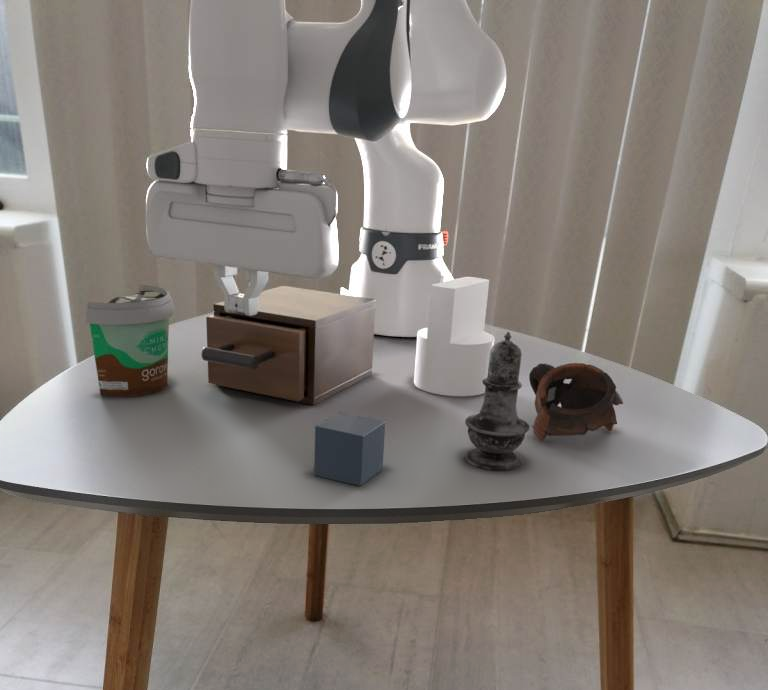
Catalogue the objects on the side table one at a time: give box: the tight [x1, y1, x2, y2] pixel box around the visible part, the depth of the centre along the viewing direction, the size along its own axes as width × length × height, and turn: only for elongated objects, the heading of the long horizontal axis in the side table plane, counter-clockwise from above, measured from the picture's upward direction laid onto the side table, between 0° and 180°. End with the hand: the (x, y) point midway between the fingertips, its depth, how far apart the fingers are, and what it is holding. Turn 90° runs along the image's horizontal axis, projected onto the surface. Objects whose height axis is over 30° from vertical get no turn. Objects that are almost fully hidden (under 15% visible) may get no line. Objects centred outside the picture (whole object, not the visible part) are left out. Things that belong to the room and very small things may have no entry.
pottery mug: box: [529, 362, 624, 442], centre depth 85 cm, size 12×10×8 cm
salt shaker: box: [464, 331, 530, 472], centre depth 75 cm, size 6×6×12 cm
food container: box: [85, 283, 176, 398], centre depth 90 cm, size 12×6×10 cm, turn 168°
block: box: [313, 411, 386, 487], centre depth 72 cm, size 4×4×4 cm
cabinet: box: [212, 285, 376, 406], centre depth 96 cm, size 15×13×9 cm
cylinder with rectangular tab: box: [413, 276, 496, 397], centre depth 97 cm, size 9×9×12 cm
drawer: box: [201, 314, 309, 402], centre depth 92 cm, size 18×11×7 cm, turn 155°
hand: (241, 313), depth 84 cm, fingers closed
